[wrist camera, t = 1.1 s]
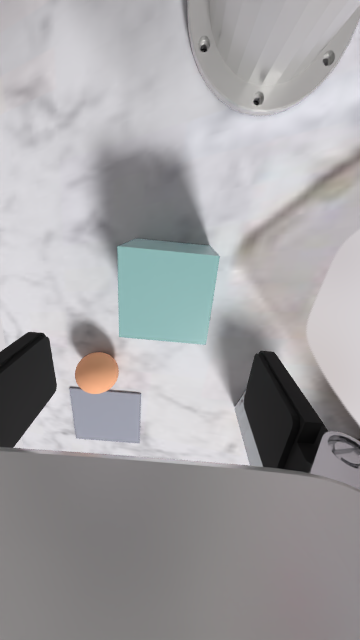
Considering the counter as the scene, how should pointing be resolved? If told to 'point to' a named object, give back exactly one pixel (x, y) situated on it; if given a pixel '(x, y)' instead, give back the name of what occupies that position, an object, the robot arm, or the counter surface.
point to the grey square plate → (106, 415)
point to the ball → (96, 373)
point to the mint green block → (166, 290)
